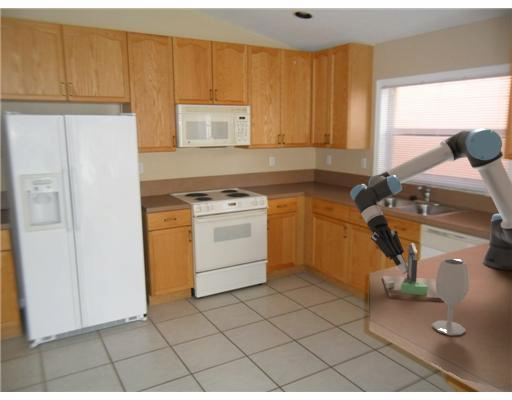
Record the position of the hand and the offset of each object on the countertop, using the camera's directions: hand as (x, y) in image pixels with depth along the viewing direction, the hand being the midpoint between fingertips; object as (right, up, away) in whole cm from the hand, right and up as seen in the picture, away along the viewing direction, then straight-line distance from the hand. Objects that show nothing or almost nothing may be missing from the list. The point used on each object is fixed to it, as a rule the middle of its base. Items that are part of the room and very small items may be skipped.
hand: (405, 271), depth 152 cm
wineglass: (+2, -12, -30) cm, 33 cm away
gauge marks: (-1, -6, -3) cm, 7 cm away
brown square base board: (+3, -7, +1) cm, 7 cm away
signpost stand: (+2, -5, +1) cm, 6 cm away
